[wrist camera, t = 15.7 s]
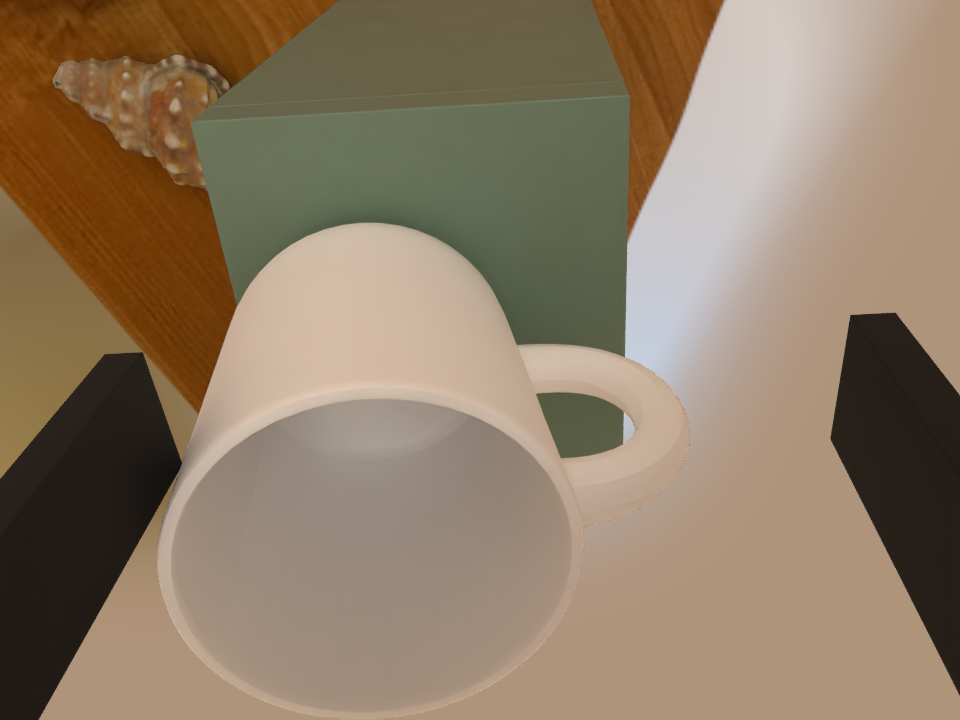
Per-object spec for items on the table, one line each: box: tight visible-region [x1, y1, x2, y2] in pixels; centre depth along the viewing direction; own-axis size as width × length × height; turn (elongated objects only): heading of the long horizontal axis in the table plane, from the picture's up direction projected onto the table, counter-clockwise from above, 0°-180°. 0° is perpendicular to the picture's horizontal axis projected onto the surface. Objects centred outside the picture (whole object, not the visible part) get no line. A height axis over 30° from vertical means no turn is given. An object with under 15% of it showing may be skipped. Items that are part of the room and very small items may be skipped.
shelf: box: [190, 0, 630, 458], centre depth 39 cm, size 12×14×30 cm
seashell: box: [53, 55, 230, 191], centre depth 51 cm, size 9×8×10 cm
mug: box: [157, 223, 690, 720], centre depth 21 cm, size 12×8×10 cm
